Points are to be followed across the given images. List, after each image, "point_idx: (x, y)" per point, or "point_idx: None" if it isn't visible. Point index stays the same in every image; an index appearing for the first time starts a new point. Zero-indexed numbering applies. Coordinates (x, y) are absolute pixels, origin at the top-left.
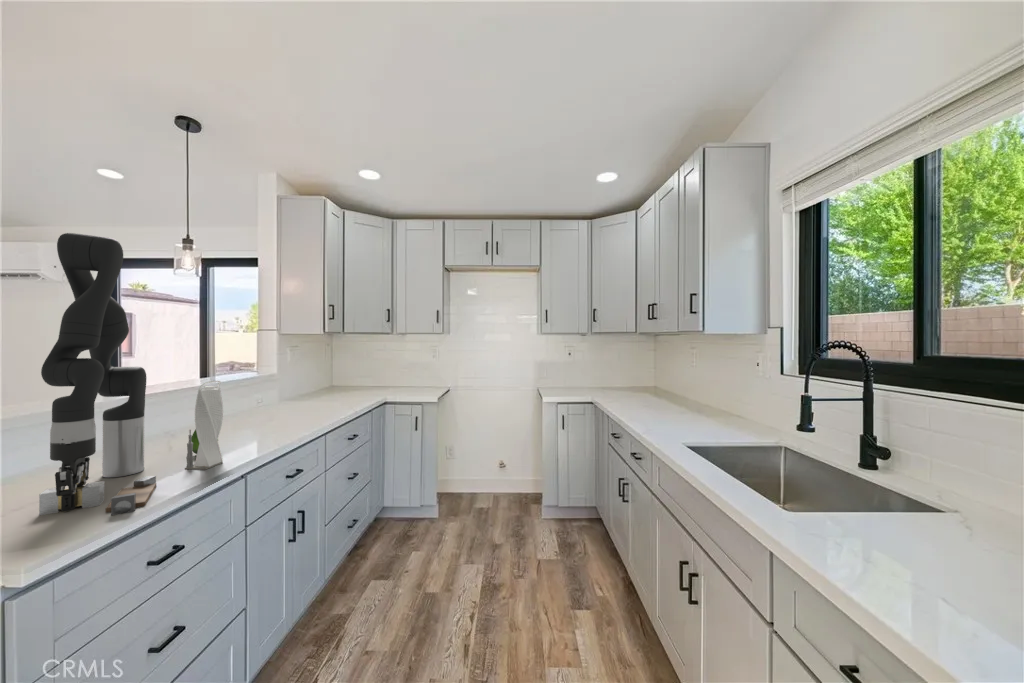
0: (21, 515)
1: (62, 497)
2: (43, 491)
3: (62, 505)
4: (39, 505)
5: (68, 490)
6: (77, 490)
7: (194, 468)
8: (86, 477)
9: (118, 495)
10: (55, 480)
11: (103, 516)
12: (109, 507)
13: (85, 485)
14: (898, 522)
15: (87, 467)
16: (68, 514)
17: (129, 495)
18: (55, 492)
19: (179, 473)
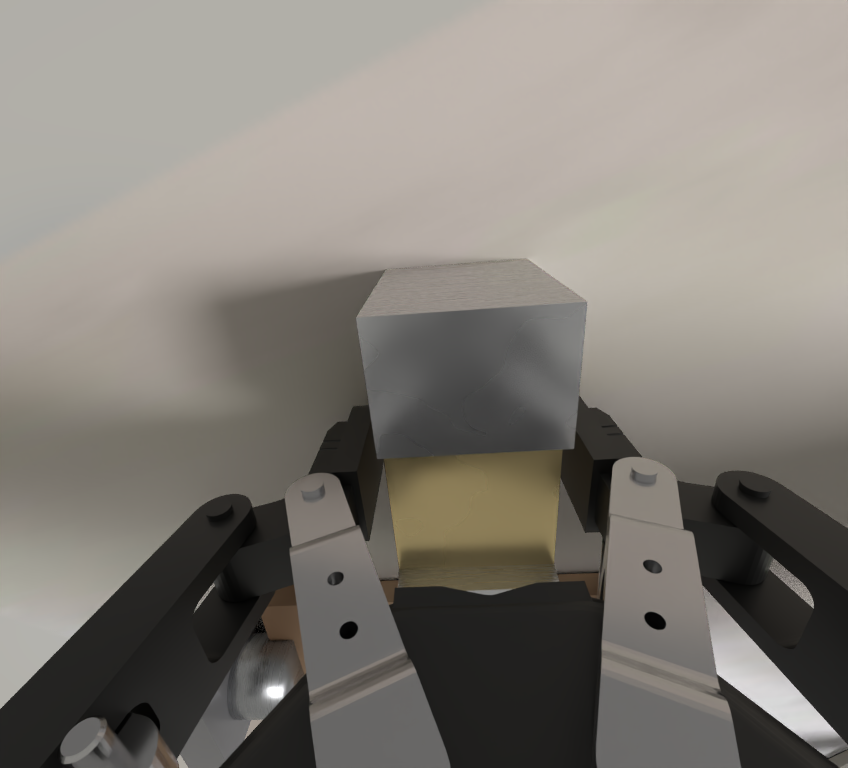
0: (456, 123)
1: (333, 469)
2: (471, 314)
3: (348, 429)
4: (374, 288)
5: (221, 593)
6: (440, 537)
7: (842, 762)
8: (710, 586)
9: (206, 731)
10: (8, 701)
11: (208, 589)
12: (263, 617)
13: (480, 593)
14: None
15: (835, 725)
16: (315, 439)
17: (188, 762)
18: (378, 437)
19: (818, 717)
